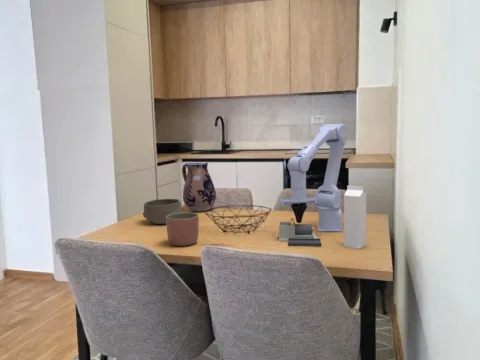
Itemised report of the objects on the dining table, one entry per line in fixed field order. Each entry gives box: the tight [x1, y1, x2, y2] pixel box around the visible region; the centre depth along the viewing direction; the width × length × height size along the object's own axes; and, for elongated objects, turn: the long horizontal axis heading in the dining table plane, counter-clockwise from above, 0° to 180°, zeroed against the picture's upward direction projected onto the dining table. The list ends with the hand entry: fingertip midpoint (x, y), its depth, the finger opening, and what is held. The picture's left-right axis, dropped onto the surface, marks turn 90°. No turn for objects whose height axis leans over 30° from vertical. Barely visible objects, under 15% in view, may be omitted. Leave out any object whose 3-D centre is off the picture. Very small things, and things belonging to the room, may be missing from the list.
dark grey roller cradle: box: [287, 237, 322, 247], centre depth 159 cm, size 12×6×1 cm, turn 83°
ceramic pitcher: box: [181, 162, 217, 213], centre depth 226 cm, size 18×21×25 cm
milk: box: [343, 184, 367, 250], centre depth 153 cm, size 6×6×22 cm
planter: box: [165, 211, 200, 247], centre depth 163 cm, size 12×12×11 cm
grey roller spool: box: [288, 223, 315, 235], centre depth 166 cm, size 11×4×4 cm, turn 83°
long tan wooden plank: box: [290, 217, 295, 226], centre depth 166 cm, size 1×9×1 cm, turn 172°
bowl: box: [142, 198, 183, 225], centre depth 200 cm, size 17×18×10 cm
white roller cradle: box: [278, 221, 317, 242], centre depth 167 cm, size 14×9×6 cm, turn 83°
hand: (298, 222), depth 166 cm, fingers closed
